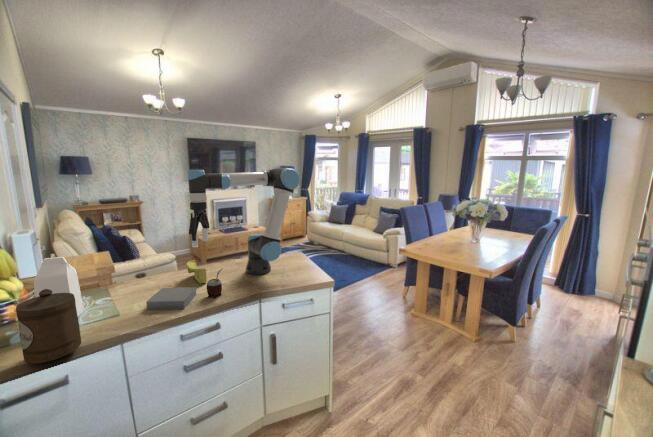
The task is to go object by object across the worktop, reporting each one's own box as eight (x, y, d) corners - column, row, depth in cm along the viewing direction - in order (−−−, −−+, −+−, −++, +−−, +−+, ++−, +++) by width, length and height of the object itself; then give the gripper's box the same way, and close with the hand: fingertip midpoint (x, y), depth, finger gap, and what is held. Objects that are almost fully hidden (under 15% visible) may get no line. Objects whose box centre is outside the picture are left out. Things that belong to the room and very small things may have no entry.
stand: (196, 294, 152) (195, 287, 151) (184, 309, 136) (183, 300, 136) (163, 295, 151) (162, 287, 150) (147, 310, 135) (146, 301, 134)
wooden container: (28, 347, 106) (19, 287, 102) (82, 334, 115) (75, 279, 111) (19, 370, 94) (8, 303, 91) (80, 353, 103) (72, 292, 99)
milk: (37, 326, 120) (27, 263, 116) (49, 314, 130) (41, 255, 126) (74, 321, 125) (67, 260, 121) (83, 309, 135) (77, 252, 131)
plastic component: (206, 283, 167) (205, 266, 165) (192, 287, 162) (191, 269, 160) (196, 274, 182) (195, 258, 180) (183, 276, 177) (182, 260, 176)
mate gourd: (207, 294, 153) (205, 265, 150) (223, 292, 156) (222, 263, 153) (207, 300, 146) (205, 270, 144) (224, 297, 149) (223, 268, 146)
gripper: (199, 199, 160) (202, 238, 163) (178, 204, 135) (182, 250, 139) (214, 199, 160) (216, 238, 164) (195, 204, 136) (198, 250, 139)
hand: (200, 243), depth 151 cm, fingers open, 13 cm apart
